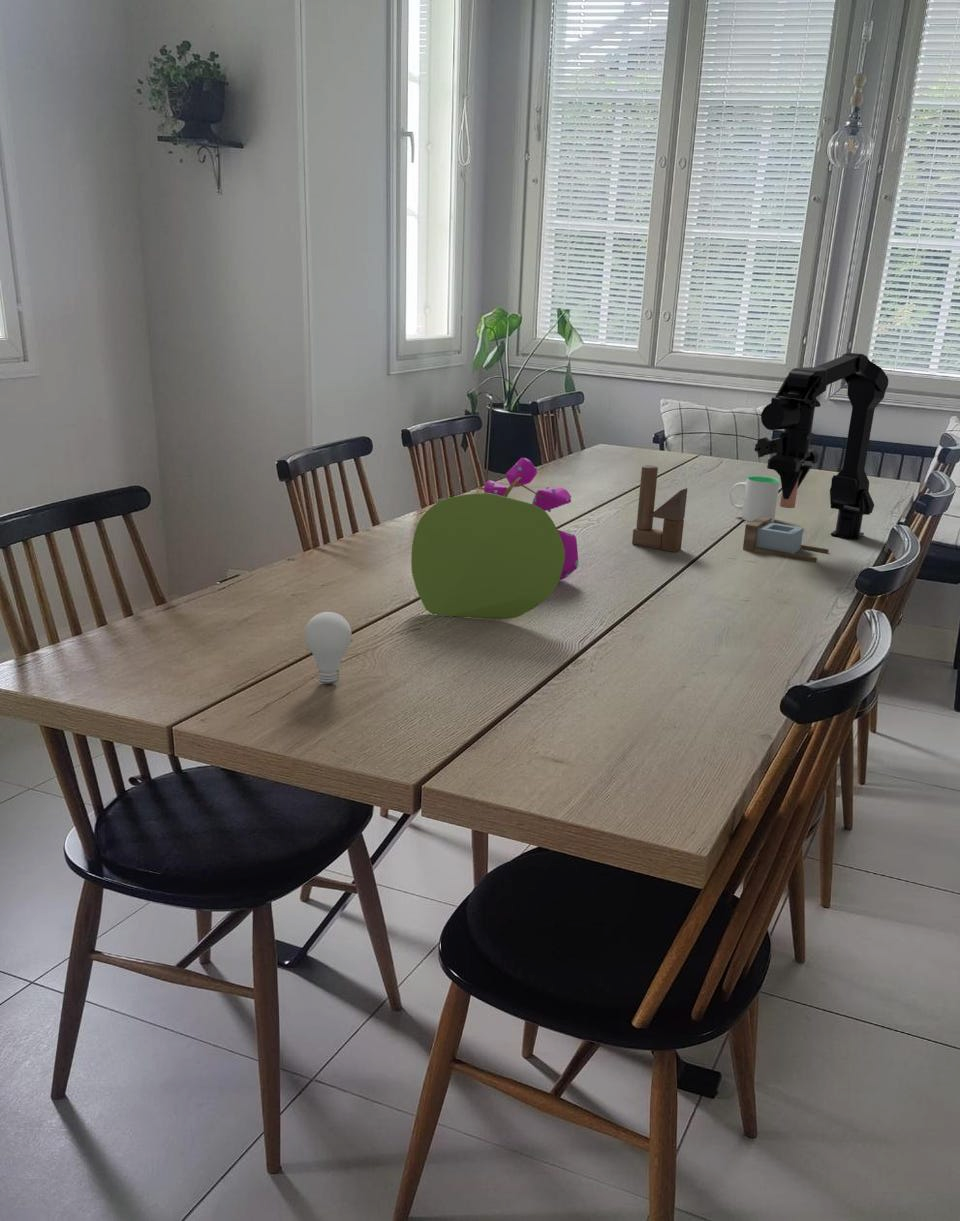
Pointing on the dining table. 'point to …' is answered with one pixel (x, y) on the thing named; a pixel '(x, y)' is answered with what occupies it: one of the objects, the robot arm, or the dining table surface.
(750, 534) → the track wall
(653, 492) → the wooden block
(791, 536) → the socket block
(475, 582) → the green pad purple flowers
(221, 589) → the dining table surface
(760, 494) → the mug
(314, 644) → the light bulb
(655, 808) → the dining table surface
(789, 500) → the pink rectangular block
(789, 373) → the robot arm
